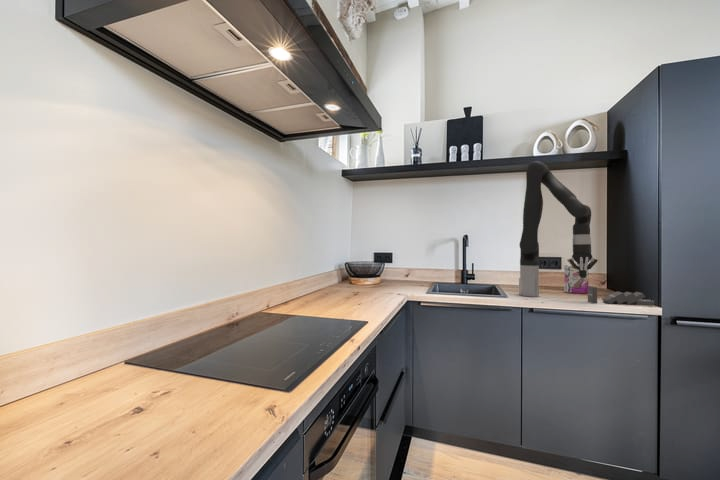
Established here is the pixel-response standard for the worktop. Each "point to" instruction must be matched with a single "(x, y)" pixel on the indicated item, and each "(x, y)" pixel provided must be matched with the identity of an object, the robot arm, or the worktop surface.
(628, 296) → the dark grey bumpy bar
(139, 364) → the worktop surface
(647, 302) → the domino
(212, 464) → the worktop surface
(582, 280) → the candy bar box
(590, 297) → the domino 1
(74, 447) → the worktop surface
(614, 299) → the domino
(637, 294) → the domino
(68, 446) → the worktop surface
